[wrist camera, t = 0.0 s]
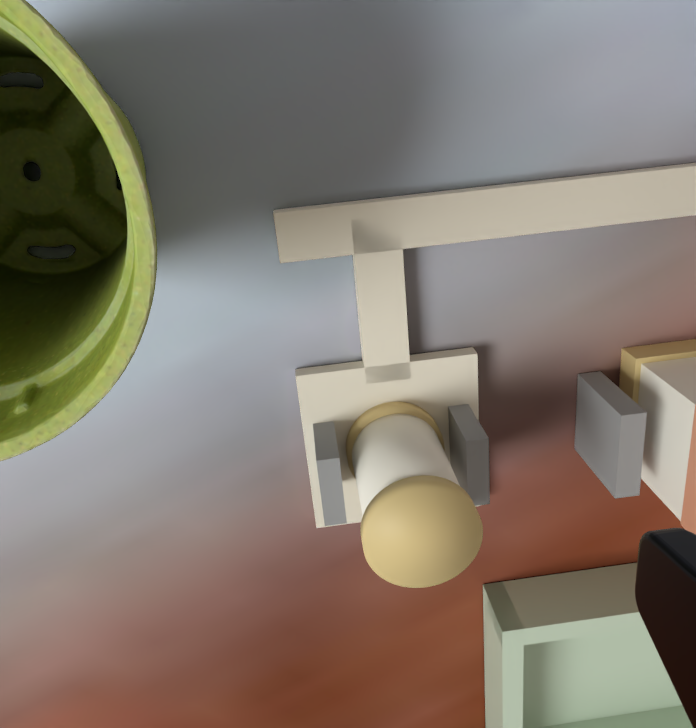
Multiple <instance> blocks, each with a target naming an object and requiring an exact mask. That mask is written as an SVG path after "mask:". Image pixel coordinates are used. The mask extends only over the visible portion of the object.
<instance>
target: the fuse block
mask: <svg viewBox="0 0 696 728" xmlns="http://www.w3.org/2000/svg"><path fill="white" fill-rule="evenodd" d="M273 215H274V223H275V230H276V237H277V244H278V252H279V259H280V263H287V262H295V261H304V260H313V259H321V258H330V257H339V256H347V255H353V266H354V277H355V287H356V298H357V309H358V319H359V330H360V341H361V352H362V361H356V362H348V363H340V364H332V365H324V366H316V367H308V368H300V369H295V373H296V382H297V390H298V397H299V404H300V411H301V419H302V426H303V433H304V440H305V448H306V455H307V462H308V469H309V477H310V484H311V491H312V499H313V506H314V513H315V520H316V528H320V527H328V526H335V525H343V524H350V523H357V522H361V527H360V529H361V539H362V545H363V550H364V555H365V557H366V560H367V562H368V564H369V566H370V567H371V568H372V569H373V571H374V572H375V573H376V574H377V575H379V576H380V577H381V578H383V579H384V580H386V581H388V582H390V583H393V584H395V585H399V586H403V587H410V588H422V587H430V586H434V585H438V584H441V583H443V582H446V581H448V580H450V579H452V578H454V577H455V576H457V575H458V574H460V573H461V572H462V571H463V570H465V569H466V568H467V567H468V566H469V565H470V563H471V562H472V561H473V560H474V558H475V557H476V555H477V553H478V551H479V549H480V546H481V543H482V538H483V527H482V522H481V518H480V516H479V514H478V512H477V509H476V507H475V506H480V505H485V504H490V494H489V438H488V436H487V434H486V433H485V431H484V429H483V428H482V426H481V424H480V423H479V404H478V354H477V352H476V351H475V350H474V348H473V347H469V348H461V349H453V350H445V351H437V352H429V353H421V354H413V355H409V340H408V324H407V308H406V292H405V276H404V260H403V249H408V248H416V247H425V246H434V245H442V244H451V243H459V242H468V241H477V240H485V239H494V238H503V237H511V236H520V235H529V234H537V233H546V232H554V231H563V230H572V229H580V228H589V227H598V226H606V225H615V224H624V223H632V222H641V221H649V220H658V219H667V218H675V217H684V216H693V215H696V163H688V164H679V165H671V166H662V167H653V168H644V169H635V170H626V171H617V172H608V173H599V174H590V175H581V176H572V177H563V178H554V179H545V180H536V181H527V182H518V183H509V184H501V185H492V186H483V187H474V188H465V189H456V190H447V191H438V192H429V193H420V194H411V195H402V196H393V197H384V198H375V199H366V200H357V201H348V202H340V203H331V204H322V205H313V206H304V207H295V208H286V209H277V210H273ZM646 417H647V412H646V411H645V410H644V409H642V408H641V407H640V406H639V405H638V404H637V403H636V402H635V401H633V400H632V399H631V398H630V397H629V396H628V395H627V394H625V393H624V392H623V391H622V390H621V389H620V388H619V387H618V386H616V385H615V384H614V383H613V382H612V381H611V380H610V379H608V378H607V377H606V376H605V375H604V374H603V373H602V372H601V371H598V372H590V373H582V374H578V383H577V405H576V427H575V450H576V451H577V452H578V454H579V455H580V456H581V457H582V458H583V460H584V461H585V462H586V463H587V465H588V466H589V467H590V468H591V469H592V471H593V472H594V473H595V474H596V476H597V477H598V478H599V479H600V481H601V482H602V483H603V484H604V485H605V487H606V488H607V489H608V490H609V492H610V493H611V494H612V495H613V496H614V498H622V497H629V496H636V495H639V493H640V482H641V471H642V460H643V449H644V439H645V428H646Z"/></svg>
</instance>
